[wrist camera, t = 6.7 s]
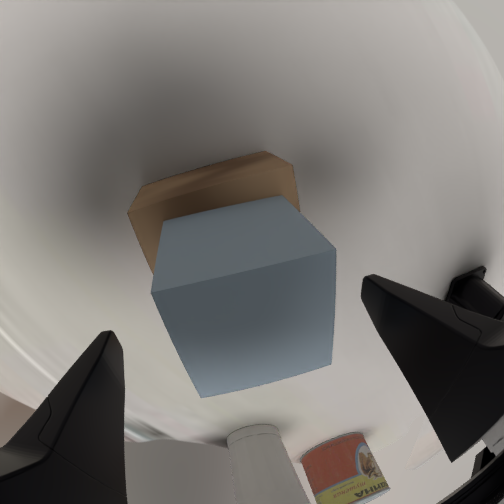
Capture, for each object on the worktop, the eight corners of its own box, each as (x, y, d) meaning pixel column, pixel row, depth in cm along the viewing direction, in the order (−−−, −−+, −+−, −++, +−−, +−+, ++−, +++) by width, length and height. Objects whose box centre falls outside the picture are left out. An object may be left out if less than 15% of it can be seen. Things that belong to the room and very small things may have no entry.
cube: (282, 195, 12) (336, 249, 8) (291, 290, 14) (331, 364, 10) (163, 221, 11) (150, 292, 7) (193, 314, 14) (201, 398, 9)
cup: (225, 453, 31) (243, 531, 20) (213, 429, 27) (233, 526, 17) (284, 440, 32) (311, 516, 22) (285, 414, 28) (318, 507, 18)
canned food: (374, 431, 39) (401, 483, 29) (328, 462, 42) (349, 511, 32) (336, 431, 34) (367, 497, 24) (286, 463, 37) (307, 522, 27)
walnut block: (265, 150, 15) (292, 164, 11) (285, 256, 19) (311, 296, 15) (142, 185, 15) (127, 213, 11) (181, 287, 18) (182, 335, 14)
